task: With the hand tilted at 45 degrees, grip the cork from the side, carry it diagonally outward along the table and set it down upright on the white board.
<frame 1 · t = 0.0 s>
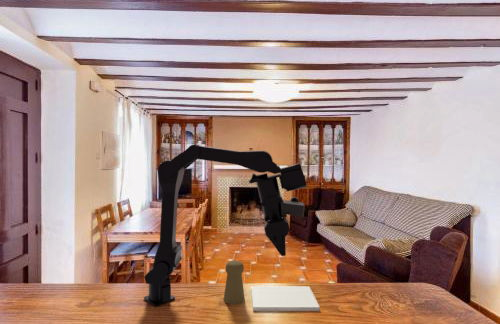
hand: (282, 250, 92), 15 cm above the table, tool pointing down, fingers open, 9 cm apart
white board: (283, 299, 96), on the table
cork: (234, 300, 96), on the table
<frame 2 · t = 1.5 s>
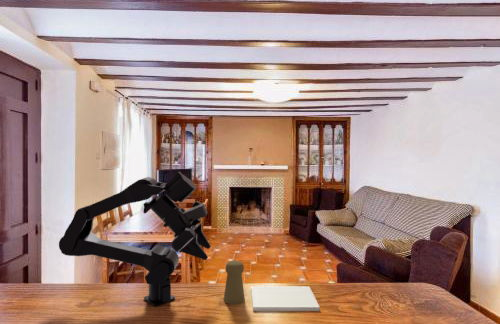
hand: (208, 253, 94), 13 cm above the table, tool tilted 45°, fingers open, 9 cm apart
nothing on the table moved.
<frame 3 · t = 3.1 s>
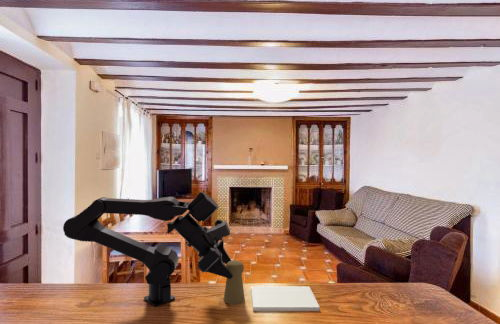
hand: (231, 270, 95), 8 cm above the table, tool tilted 45°, fingers open, 9 cm apart
nothing on the table moved.
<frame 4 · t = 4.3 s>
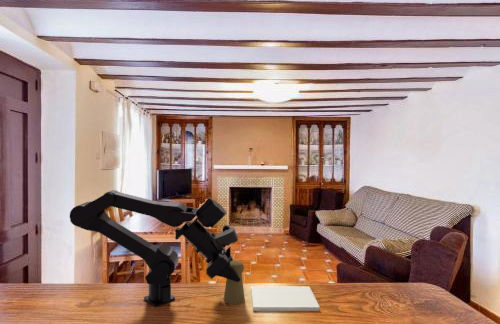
hand: (239, 276, 95), 7 cm above the table, tool tilted 45°, fingers closed on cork, 5 cm apart
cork: (234, 300, 96), on the table, touching gripper
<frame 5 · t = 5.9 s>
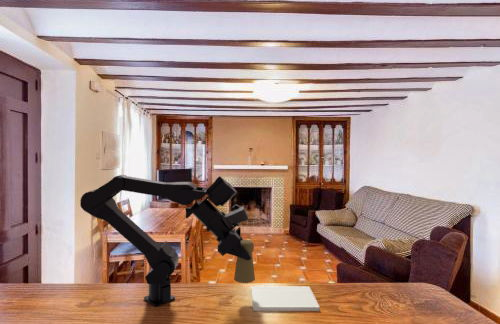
hand: (249, 256, 95), 13 cm above the table, tool tilted 45°, fingers closed on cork, 5 cm apart
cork: (244, 279, 95), point 6 cm above the table, touching gripper
when the fingers open (9 cm above the table, at t = 7.7 s): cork drops 1 cm, resting on white board.
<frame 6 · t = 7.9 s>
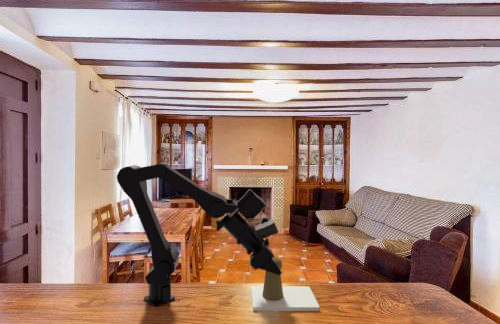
hand: (278, 268, 96), 9 cm above the table, tool tilted 45°, fingers open, 7 cm apart
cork: (272, 296, 96), point 1 cm above the table, touching white board
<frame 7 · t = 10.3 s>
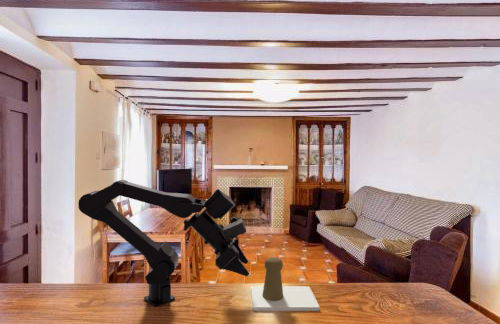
hand: (247, 268, 95), 9 cm above the table, tool tilted 45°, fingers open, 9 cm apart
nothing on the table moved.
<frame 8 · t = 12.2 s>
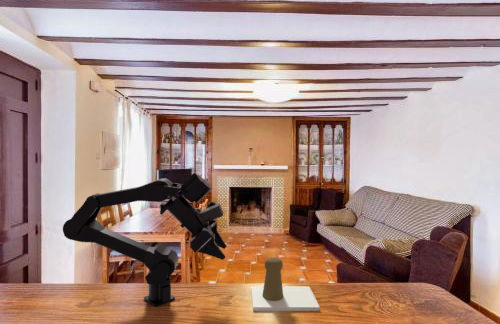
hand: (225, 252, 95), 14 cm above the table, tool tilted 45°, fingers open, 9 cm apart
nothing on the table moved.
at the end: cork inside the target area (0.8 cm from its centre), point 0.8 cm above the table; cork tilted 0°; the gripper is holding nothing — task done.
